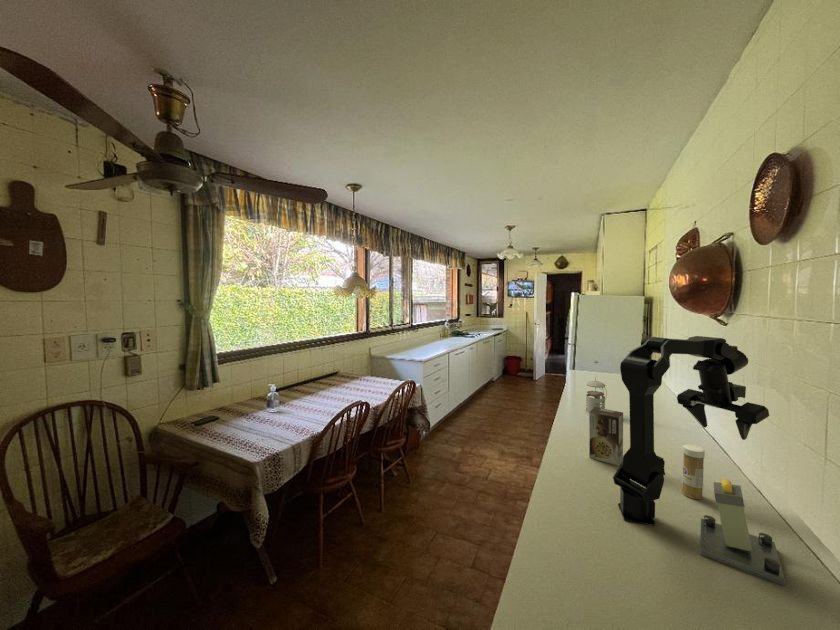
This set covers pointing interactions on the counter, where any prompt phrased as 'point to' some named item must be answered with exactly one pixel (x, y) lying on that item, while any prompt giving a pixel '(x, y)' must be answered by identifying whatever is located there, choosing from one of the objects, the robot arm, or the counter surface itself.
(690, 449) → the sprinkles bottle
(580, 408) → the counter surface
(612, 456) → the coffee box
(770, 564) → the plate
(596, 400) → the french press
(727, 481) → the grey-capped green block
